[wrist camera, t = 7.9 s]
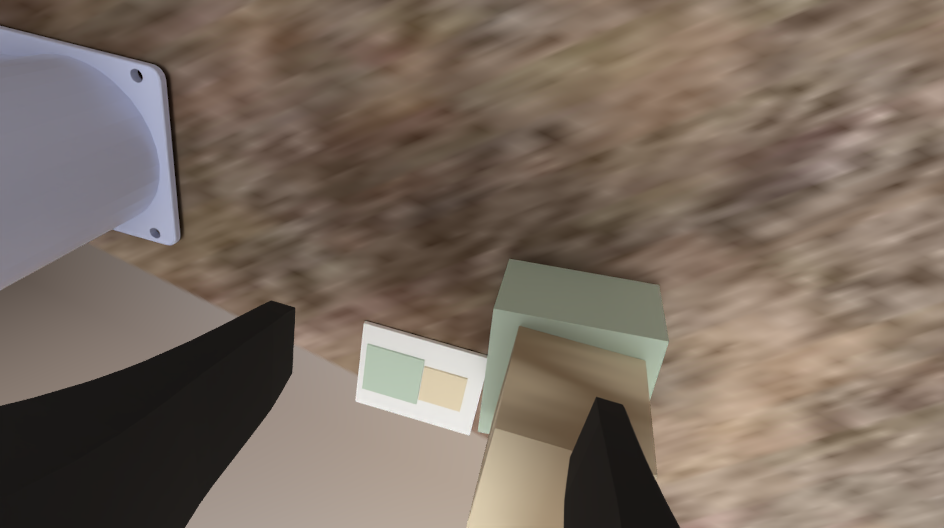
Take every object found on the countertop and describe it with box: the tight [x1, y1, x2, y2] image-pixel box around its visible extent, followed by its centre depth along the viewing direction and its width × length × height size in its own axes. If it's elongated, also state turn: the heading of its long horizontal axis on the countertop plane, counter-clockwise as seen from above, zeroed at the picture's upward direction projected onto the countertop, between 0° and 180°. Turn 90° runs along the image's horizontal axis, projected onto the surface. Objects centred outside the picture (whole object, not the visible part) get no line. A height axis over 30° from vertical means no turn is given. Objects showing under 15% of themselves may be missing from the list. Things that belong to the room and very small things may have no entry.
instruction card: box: [356, 321, 488, 435], centre depth 27 cm, size 6×5×1 cm
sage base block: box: [478, 259, 669, 434], centre depth 22 cm, size 6×6×4 cm
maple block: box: [466, 326, 657, 528], centre depth 18 cm, size 4×4×5 cm
